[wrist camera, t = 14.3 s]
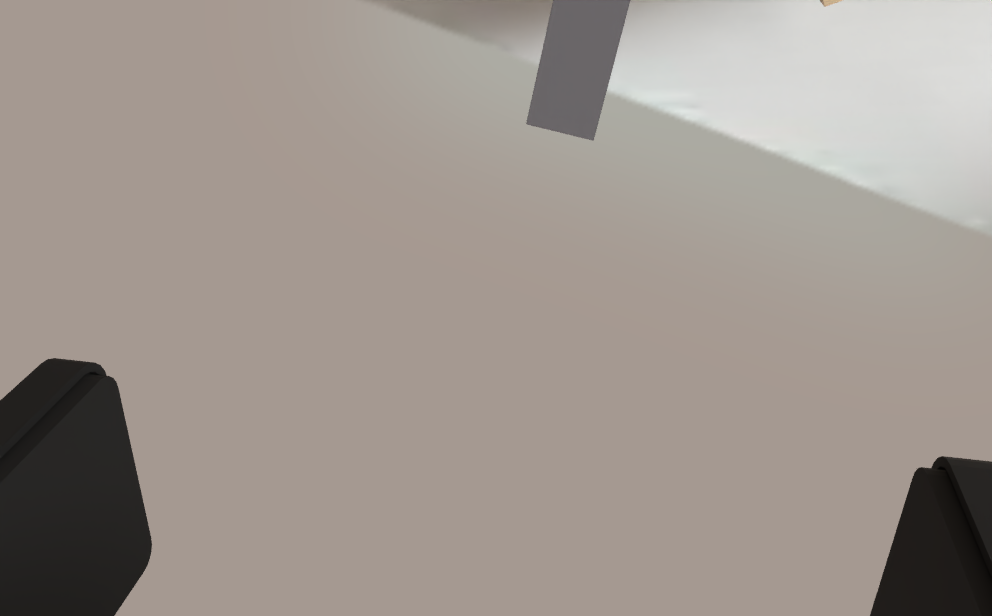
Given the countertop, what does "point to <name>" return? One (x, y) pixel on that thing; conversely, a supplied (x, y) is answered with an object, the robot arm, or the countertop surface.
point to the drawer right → (576, 65)
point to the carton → (829, 2)
